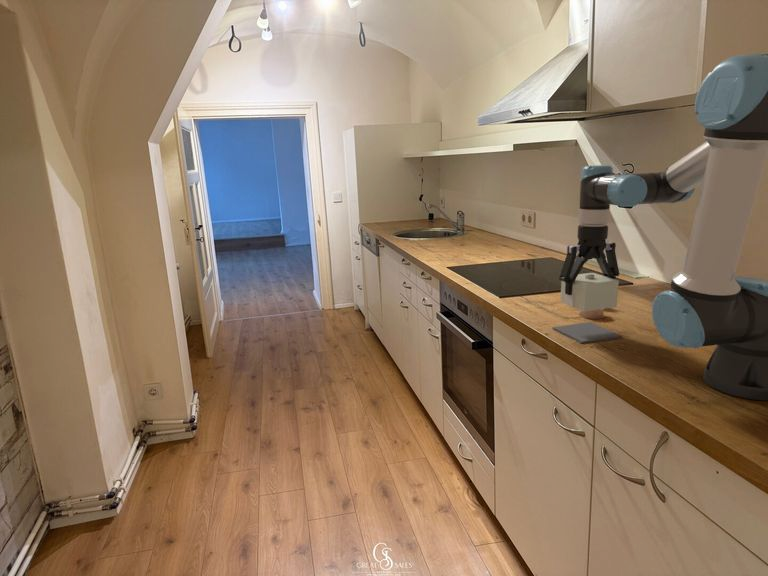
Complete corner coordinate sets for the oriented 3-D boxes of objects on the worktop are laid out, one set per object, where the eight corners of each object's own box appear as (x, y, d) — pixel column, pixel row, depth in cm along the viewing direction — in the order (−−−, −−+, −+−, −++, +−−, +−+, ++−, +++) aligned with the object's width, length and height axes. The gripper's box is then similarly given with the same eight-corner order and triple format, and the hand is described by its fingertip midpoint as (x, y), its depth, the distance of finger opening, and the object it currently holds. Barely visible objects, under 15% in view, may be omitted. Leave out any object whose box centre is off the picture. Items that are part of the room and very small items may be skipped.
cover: (616, 307, 138) (619, 276, 136) (584, 311, 135) (586, 280, 133) (591, 297, 148) (593, 269, 145) (560, 301, 145) (561, 272, 143)
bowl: (608, 317, 156) (609, 306, 155) (589, 320, 154) (589, 308, 154) (593, 311, 163) (593, 300, 162) (574, 313, 161) (575, 303, 160)
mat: (621, 337, 139) (621, 335, 139) (581, 343, 135) (581, 341, 135) (590, 323, 151) (590, 321, 151) (552, 329, 148) (552, 327, 147)
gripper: (618, 220, 142) (612, 295, 148) (547, 225, 136) (543, 304, 142) (638, 223, 135) (631, 302, 141) (565, 229, 129) (560, 311, 135)
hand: (587, 303), depth 141 cm, fingers closed on cover, 10 cm apart
